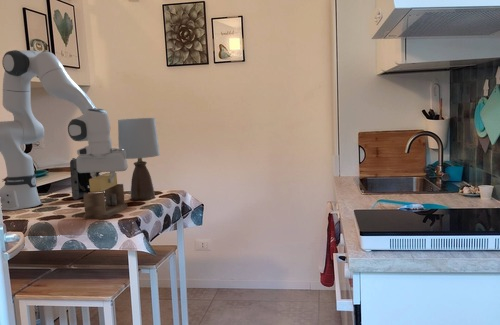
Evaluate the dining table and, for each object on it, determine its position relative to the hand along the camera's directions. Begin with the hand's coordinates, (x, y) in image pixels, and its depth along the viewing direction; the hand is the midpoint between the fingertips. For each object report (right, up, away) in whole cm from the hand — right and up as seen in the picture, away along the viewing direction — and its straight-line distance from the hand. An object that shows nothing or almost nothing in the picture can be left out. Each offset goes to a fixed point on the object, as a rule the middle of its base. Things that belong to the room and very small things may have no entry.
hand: (103, 182), depth 189 cm
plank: (0, -2, 0) cm, 2 cm away
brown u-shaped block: (+1, -12, +2) cm, 12 cm away
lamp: (+9, -8, +31) cm, 33 cm away
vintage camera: (-18, -9, +38) cm, 42 cm away
